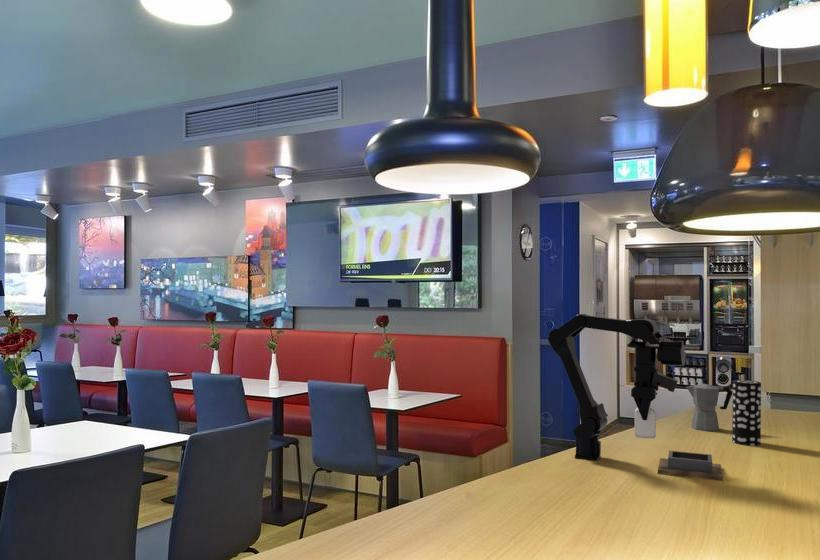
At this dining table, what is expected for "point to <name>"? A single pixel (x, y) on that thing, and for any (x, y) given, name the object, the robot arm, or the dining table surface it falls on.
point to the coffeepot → (707, 405)
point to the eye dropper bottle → (645, 424)
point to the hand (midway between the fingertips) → (645, 419)
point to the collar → (690, 461)
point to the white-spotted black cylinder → (746, 412)
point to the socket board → (714, 475)
